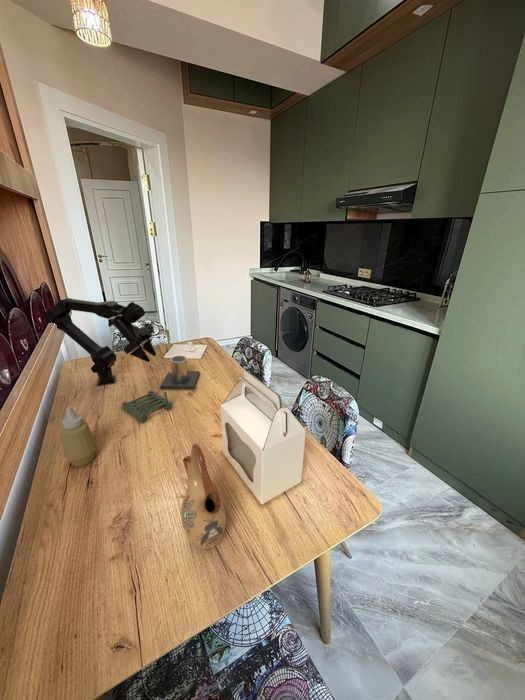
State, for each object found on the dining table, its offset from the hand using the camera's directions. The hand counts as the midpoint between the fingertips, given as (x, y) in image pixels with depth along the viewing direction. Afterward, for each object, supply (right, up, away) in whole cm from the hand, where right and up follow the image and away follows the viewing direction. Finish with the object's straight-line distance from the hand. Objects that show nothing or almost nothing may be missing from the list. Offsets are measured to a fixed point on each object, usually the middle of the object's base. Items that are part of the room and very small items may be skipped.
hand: (152, 358), depth 122 cm
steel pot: (+10, -9, +7) cm, 15 cm away
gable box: (+46, -31, -38) cm, 67 cm away
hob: (+10, -11, +8) cm, 17 cm away
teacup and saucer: (+4, +3, +40) cm, 41 cm away
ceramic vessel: (+34, -38, -57) cm, 77 cm away
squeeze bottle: (-7, -29, -36) cm, 47 cm away
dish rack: (+3, -19, -12) cm, 22 cm away
